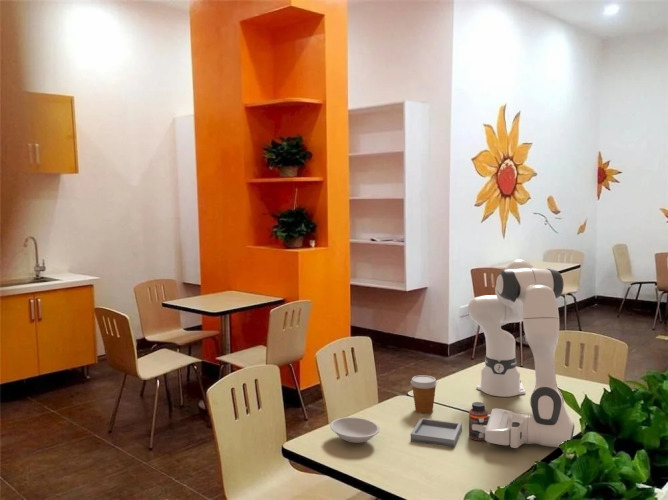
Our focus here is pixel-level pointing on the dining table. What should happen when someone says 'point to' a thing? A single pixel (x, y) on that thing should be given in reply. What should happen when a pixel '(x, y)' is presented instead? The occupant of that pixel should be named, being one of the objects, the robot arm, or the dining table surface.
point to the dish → (354, 429)
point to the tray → (436, 432)
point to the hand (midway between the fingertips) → (474, 422)
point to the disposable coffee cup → (424, 393)
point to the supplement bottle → (477, 420)
